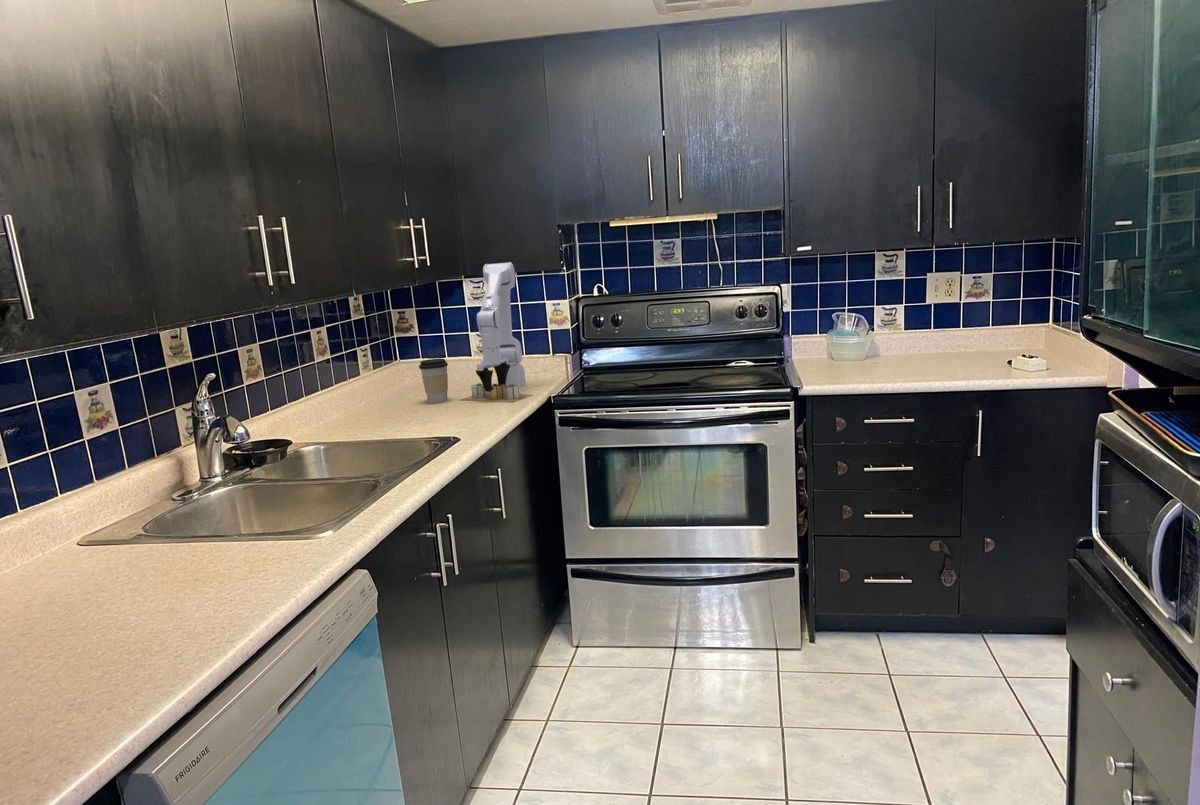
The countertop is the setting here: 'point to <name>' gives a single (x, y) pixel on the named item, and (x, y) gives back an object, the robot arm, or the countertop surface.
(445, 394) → the coffee cup
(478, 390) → the steel gear
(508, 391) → the steel gear
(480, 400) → the gear board
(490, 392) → the brass gear
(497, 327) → the robot arm
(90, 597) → the countertop surface
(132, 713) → the countertop surface
